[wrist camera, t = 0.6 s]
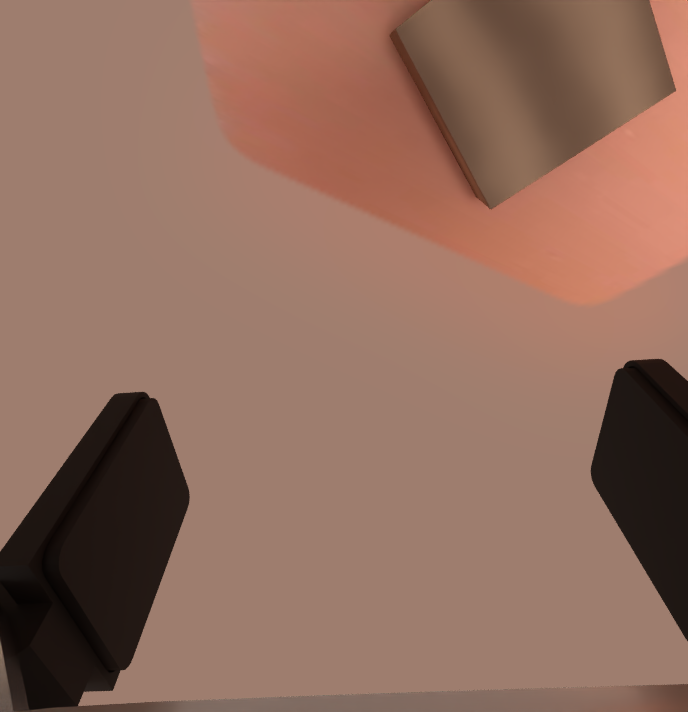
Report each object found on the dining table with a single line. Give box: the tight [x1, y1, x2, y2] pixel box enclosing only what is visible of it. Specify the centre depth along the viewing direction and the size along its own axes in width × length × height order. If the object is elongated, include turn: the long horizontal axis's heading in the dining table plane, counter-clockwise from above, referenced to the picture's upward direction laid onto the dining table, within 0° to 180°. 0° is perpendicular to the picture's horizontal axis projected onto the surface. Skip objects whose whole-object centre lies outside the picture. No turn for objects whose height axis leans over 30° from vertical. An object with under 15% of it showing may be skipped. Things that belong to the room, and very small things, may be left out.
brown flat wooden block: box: [390, 0, 676, 209], centre depth 29 cm, size 12×12×4 cm
